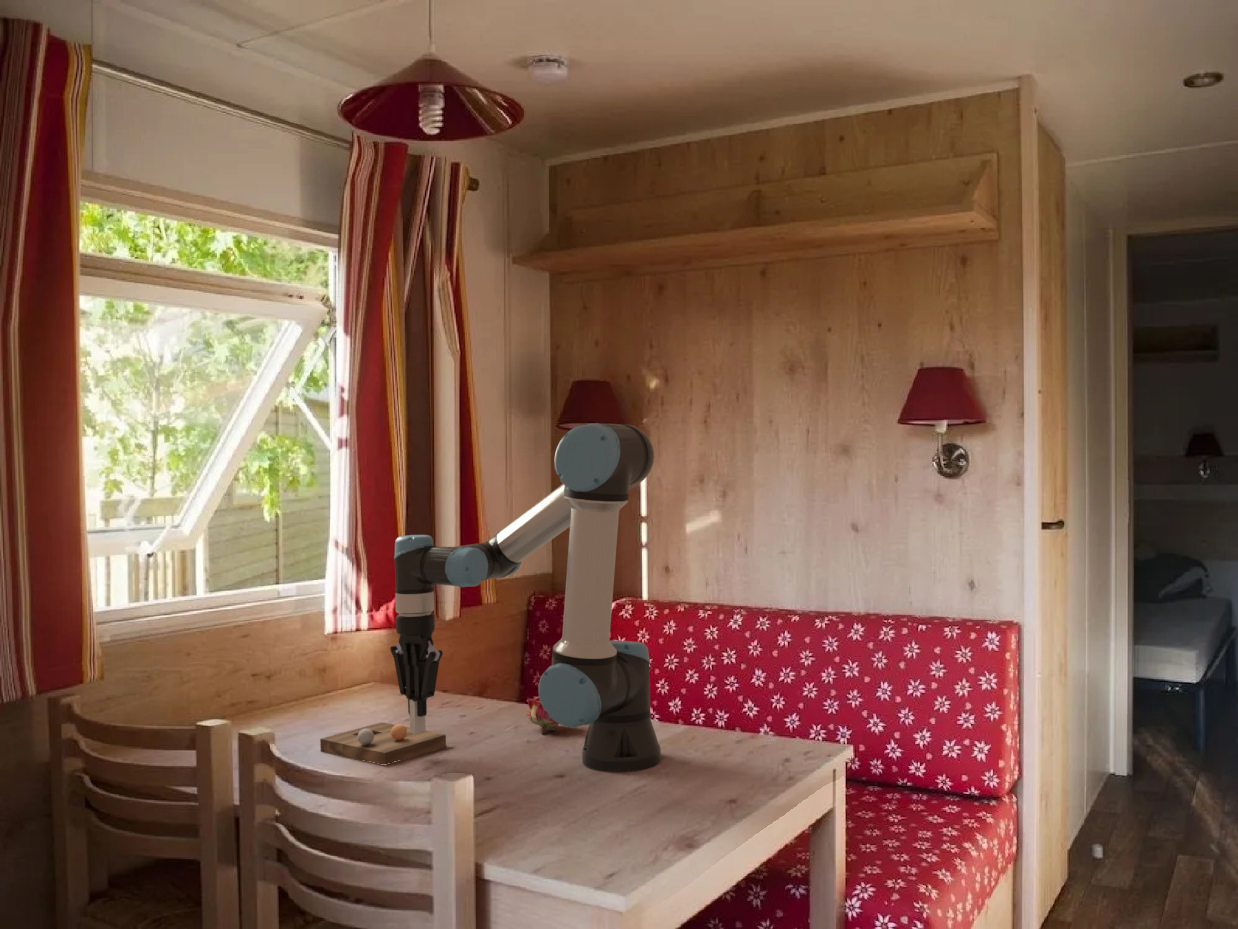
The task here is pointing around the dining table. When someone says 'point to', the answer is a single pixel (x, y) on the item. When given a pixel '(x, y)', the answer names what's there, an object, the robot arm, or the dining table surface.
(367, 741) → the grey ball
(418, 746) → the board
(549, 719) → the flower
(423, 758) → the dining table surface
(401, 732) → the ball
